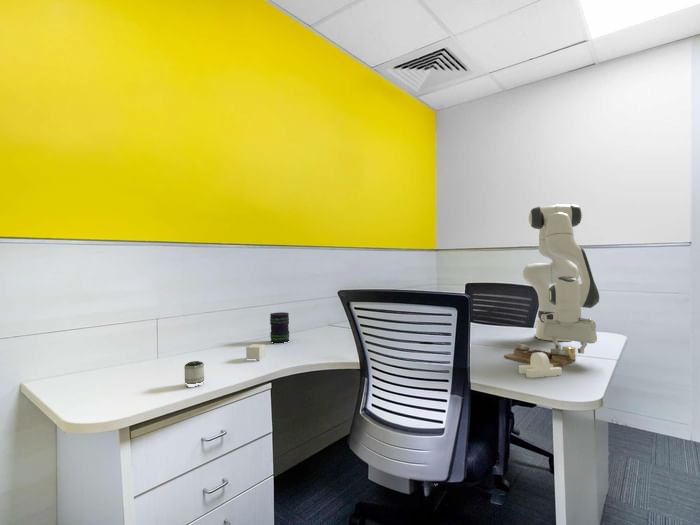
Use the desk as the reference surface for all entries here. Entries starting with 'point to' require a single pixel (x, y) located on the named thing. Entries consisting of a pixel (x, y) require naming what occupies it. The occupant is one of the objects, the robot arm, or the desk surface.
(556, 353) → the angled shaft stand
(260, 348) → the cream cube
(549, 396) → the desk surface
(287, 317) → the storage jar
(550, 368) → the slotted bracket
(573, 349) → the coupler
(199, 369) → the camera lens
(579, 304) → the robot arm
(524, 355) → the bench
